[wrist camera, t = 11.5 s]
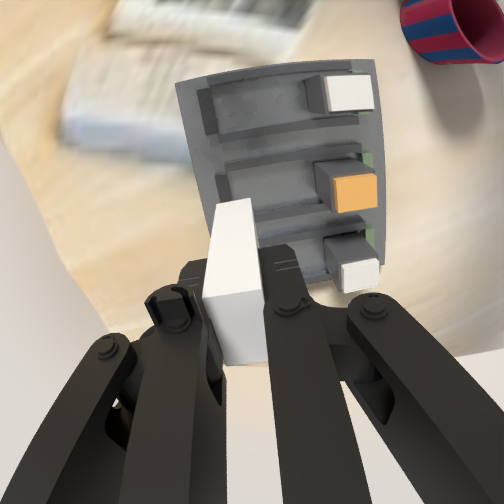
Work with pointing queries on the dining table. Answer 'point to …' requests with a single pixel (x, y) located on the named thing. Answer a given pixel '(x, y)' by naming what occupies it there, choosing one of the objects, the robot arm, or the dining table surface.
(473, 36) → the mug
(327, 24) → the dining table surface
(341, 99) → the breaker
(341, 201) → the block
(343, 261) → the breaker
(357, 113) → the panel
